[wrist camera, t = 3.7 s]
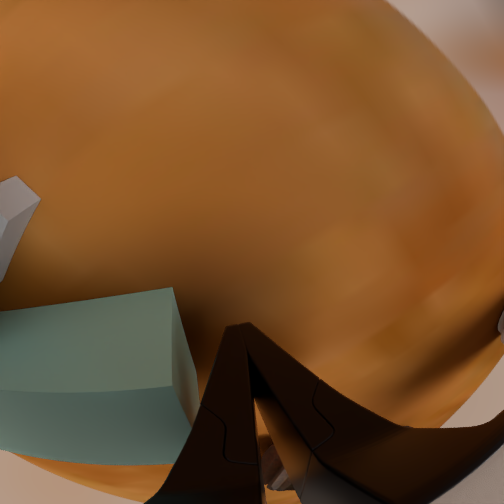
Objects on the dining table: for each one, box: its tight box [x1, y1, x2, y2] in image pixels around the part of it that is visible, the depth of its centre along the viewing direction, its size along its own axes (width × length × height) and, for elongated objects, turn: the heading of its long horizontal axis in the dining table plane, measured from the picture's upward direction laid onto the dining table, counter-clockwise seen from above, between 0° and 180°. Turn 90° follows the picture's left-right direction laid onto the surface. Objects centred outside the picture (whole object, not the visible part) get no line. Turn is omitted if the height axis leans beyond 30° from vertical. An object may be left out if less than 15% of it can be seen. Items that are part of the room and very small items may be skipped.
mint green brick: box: [0, 287, 200, 465], centre depth 7 cm, size 4×12×4 cm, turn 95°
